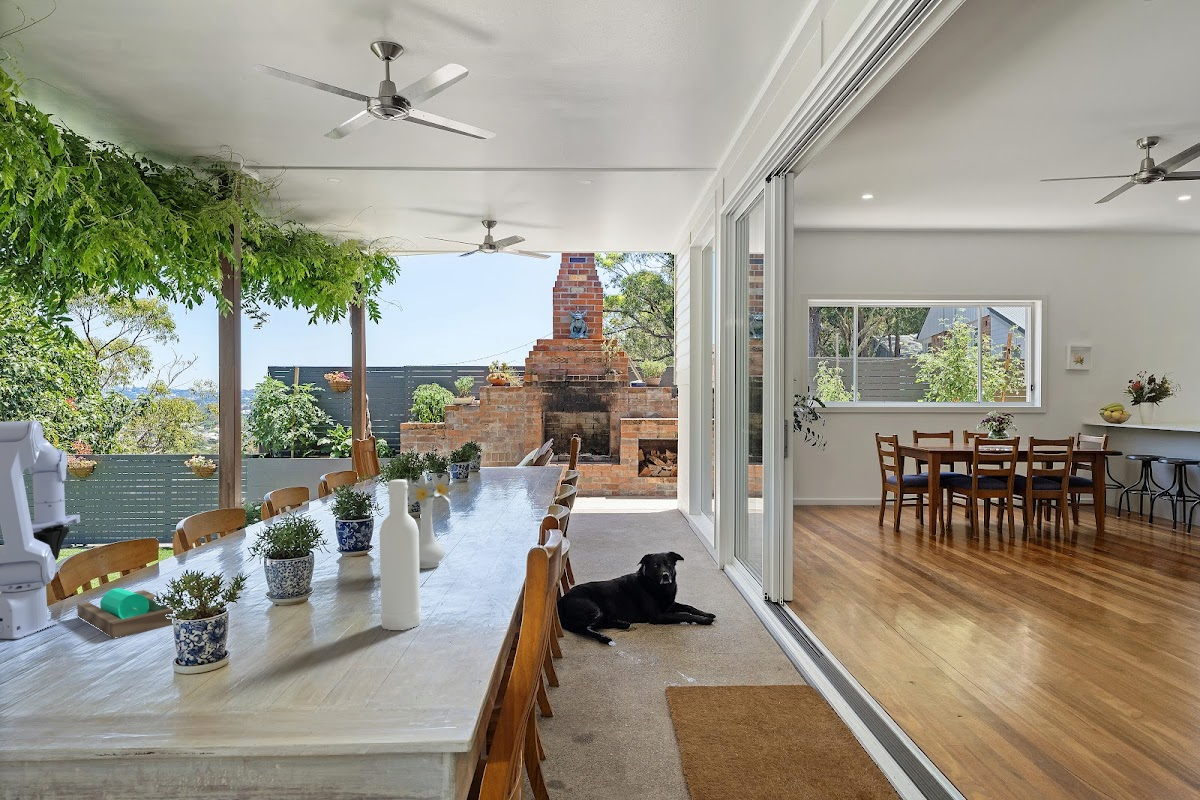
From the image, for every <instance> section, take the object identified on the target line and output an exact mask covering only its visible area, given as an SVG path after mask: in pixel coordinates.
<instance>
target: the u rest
mask: <svg viewBox="0 0 1200 800" xmlns="http://www.w3.org/2000/svg"><path fill="white" fill-rule="evenodd" d="M134 593H137V594H140V595H143V596H145V597H146V599H147V600H148V602H149V610H148V611H147V613H146V614H143V615H138V616H134V617H130V618H125V619H119V618H117V617H115V616H114V615H112V614H110V613H108V612H106V611H104V610H102V609H101V607H99V606H97V605H94V604H93V603H92V602H89V601H85V602H81V603H76V605H77V608H76V609H77V617H78V616H79V617H80V618H82V619H84V620H85V621H87V622H89V623H90V624H92V625H94V626H95V627H97V628H99V629H100V630H102V631H103V632H105V633H106V634H108V635H110V636H111V637H113V638H115V637H120V636H124V637H126V636H125V635H128V636H132V635H135V634H134V633H136V634H140V633H143V632H148V631H152V630H156V629H160V628H164V627H167V626H172V625H173V624H172V619H167V618H166V617H165V615H166V614H173V610H172V609H170V608H168V607H167V606H160V605H158V604H156V603H155V602H154V601H153V598H154V597H156V596H157V595H155V594H154V593H151V592H149V591H147V590H145V589H142V590H137V591H134ZM103 632H102V633H103ZM106 634H105V635H106ZM131 634H132V635H131ZM108 635H107V636H108ZM111 637H110V638H111ZM113 638H112V639H113ZM120 638H121V637H120Z"/></svg>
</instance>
